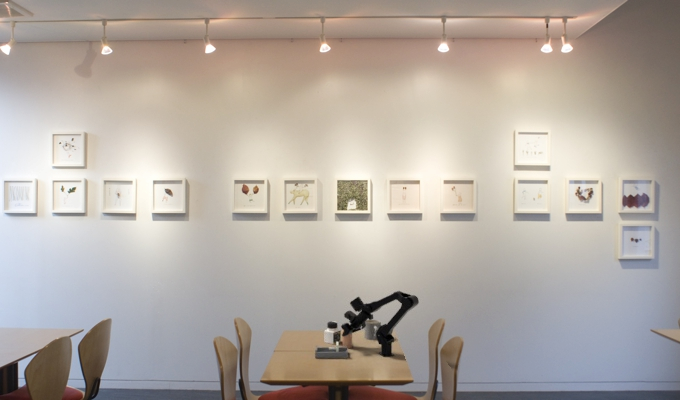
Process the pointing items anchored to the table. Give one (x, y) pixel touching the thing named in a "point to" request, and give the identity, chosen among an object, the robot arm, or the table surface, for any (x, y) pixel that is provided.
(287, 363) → the table surface
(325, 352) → the tray
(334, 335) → the medicine bottle
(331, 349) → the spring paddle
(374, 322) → the coffee mug
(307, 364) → the table surface
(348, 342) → the dome-lidded peach canister
